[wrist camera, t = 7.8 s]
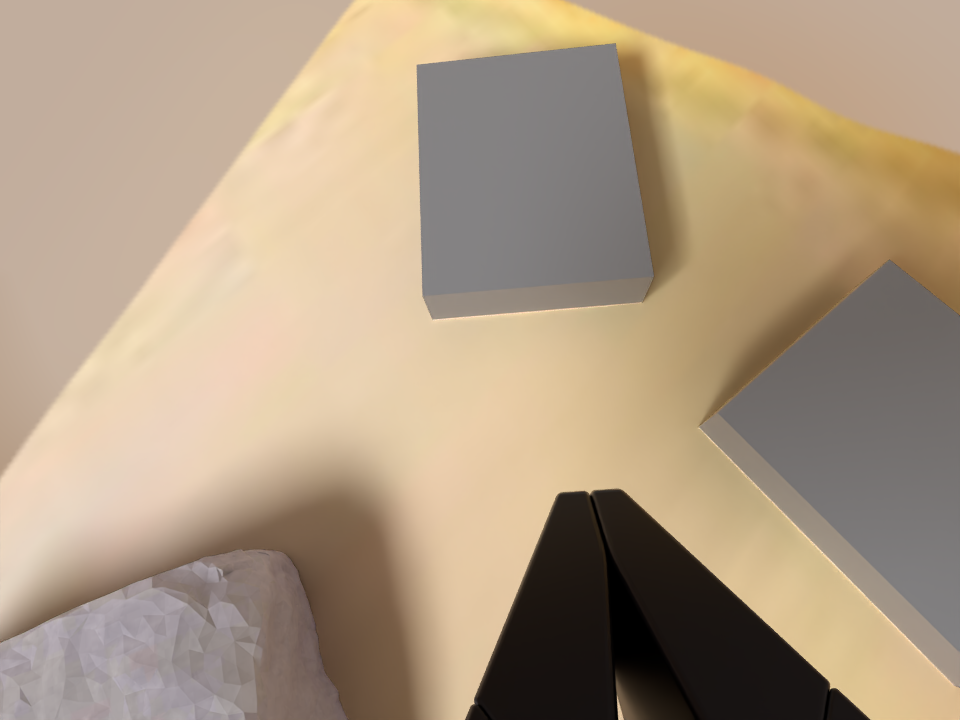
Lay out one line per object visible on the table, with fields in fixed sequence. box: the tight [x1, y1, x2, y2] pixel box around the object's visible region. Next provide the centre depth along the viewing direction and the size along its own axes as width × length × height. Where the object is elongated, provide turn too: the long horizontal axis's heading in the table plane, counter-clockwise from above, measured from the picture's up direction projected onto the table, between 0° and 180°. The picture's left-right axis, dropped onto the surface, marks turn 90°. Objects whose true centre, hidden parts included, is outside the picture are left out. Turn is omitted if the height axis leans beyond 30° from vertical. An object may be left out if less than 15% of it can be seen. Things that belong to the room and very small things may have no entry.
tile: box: [417, 43, 654, 320], centre depth 20 cm, size 2×7×9 cm
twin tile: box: [698, 260, 960, 688], centre depth 16 cm, size 9×7×2 cm
